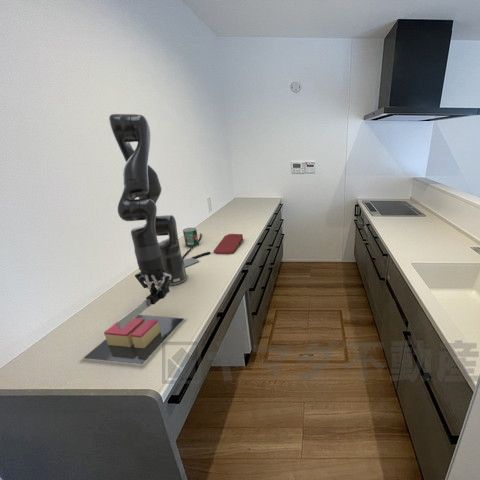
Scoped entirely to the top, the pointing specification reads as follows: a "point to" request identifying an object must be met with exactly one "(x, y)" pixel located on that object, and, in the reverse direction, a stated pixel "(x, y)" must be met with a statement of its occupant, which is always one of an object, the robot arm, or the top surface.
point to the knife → (140, 308)
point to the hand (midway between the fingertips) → (159, 297)
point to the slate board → (132, 352)
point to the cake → (122, 333)
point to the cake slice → (145, 333)
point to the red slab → (228, 244)
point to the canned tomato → (190, 237)
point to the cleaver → (193, 259)
